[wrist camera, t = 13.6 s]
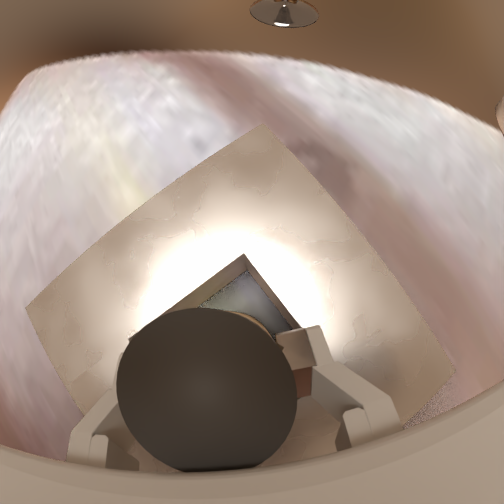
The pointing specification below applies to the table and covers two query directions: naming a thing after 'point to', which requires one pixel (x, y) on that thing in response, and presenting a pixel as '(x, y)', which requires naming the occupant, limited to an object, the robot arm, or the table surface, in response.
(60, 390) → the table surface
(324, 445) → the housing
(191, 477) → the robot arm
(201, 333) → the plug
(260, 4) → the wine glass
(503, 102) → the bottle
